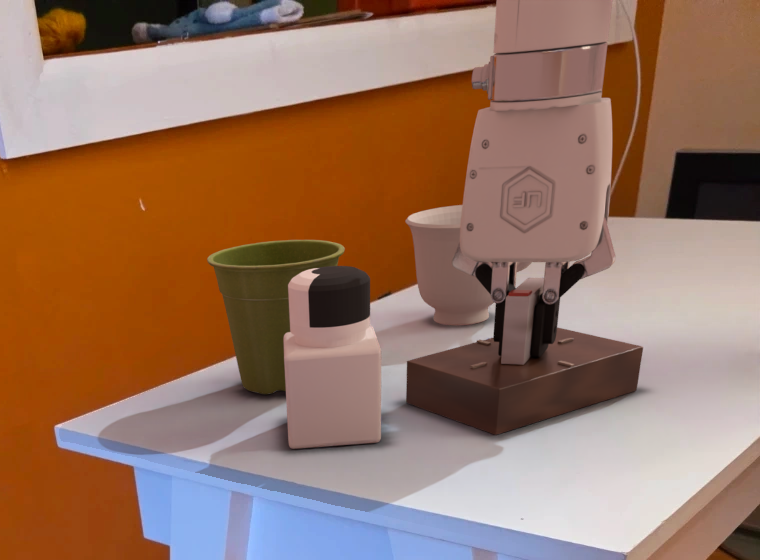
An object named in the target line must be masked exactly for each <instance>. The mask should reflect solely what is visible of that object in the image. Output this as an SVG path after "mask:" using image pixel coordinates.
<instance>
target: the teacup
mask: <svg viewBox="0 0 760 560" xmlns="http://www.w3.org/2000/svg"><path fill="white" fill-rule="evenodd" d="M462 206H463V204H459V205H458V204H457V205H449V206H441V207H435V208H430V209H425V210H421V211H418V212H415V213H412V214H410V215H408V217H407V218H406V219H405V220H404V221H405V224H407V226H408V227H409V229H410V232H411V235H412V243H413V250H414V261H415V270H416V271H415V274H416V281H417V288H418V292H419V296H420V297H421V299H422V300H423V302H424V303H425V304H426V305H428V306H429V307H431V308H433V309H434V315H433V321H434V322H435V323H437V324H440V325H444V326H445V325H446V326H468V325H469V326H470V325H474V324H475V325H476V324H479V323H483V322H485V321H487V320H488V319H489V317H490V314H489V307H490V306H492V305H493V304H496V303H495V302H493V301H492V299H491V295H490V293H489V292H488V291H487V290H486V289H485V288H484V286H483V285H482V284H481V283H480V282H479V280H478V279H477V278H476V277H474V276H471V275H469V274H467V273H465V272H462V271H460V270H458V269H456V268H455V267H453V265H452V259H453V257H454V254H455V252H456V249H457V247H458V245H459V242H460V227H461V215H462ZM532 263H533V262H517V273H519V272H522V271H523V270H525V269H527V268H528V267H529V266H530V265H531V264H532Z"/></svg>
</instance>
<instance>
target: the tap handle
mask: <svg viewBox="0 0 760 560" xmlns="http://www.w3.org/2000/svg"><path fill="white" fill-rule="evenodd" d="M543 284H544V277H527V278H526V279H525V280H524V281H523V282H521V283H520V284H519V285H518V286H516V287H515V288H516V289H515V290H512V291H510V292H509V295H508V296H507V297H506V302H505V316H504V329H503V342H502V356H501V364H516V365H524V364H525V363H526V361H527V360H528V359H529V358H530V357H531V356H532V355H530V350H531V339H532V328H533V317H534V308H535V305H536V304H537V303H538V302H540V295H541V294H542V293H543Z"/></svg>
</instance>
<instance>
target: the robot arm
mask: <svg viewBox="0 0 760 560" xmlns="http://www.w3.org/2000/svg"><path fill="white" fill-rule="evenodd" d="M495 3H496V4H495V19H494V20H495V21H494V35H493V52H492V53H493V55H491V56H490V57H489V61H488V63H485V64H484V65H483V66H476V67H474V68H473V69H472V74H471V87H472V89H473V90H481V89H482V91H486V94H487V100H488V101H489V100H490V103H489V104H490V105H489V107H485V108H481V109H478V111H477V115H476V118H475V123H474V127H473V131H472V132H473V133H472V137H471V143H470V146H469V147H470V148H469V155H468V161H467V168H466V175H465V182H464V189H463V198H462V205H463V206H462V215H461V227H460V242H459V245H458V247H457V249H456V252H455V254H454V257H453V259H452V265H453V267H455V268H456V269H458V270H460V271H462V272H465V273H467V274H469V275H471V276H474V277H476V278H477V279H478V280H479V282H480V283H481V284H482V285H483V286H484V288H485V289H486V290H487V291H488V292H489V293H490V295H491V299H492V301H493V302H495V303H494V304H495V307H494V308H495V309H494V310H495V311H494V323H493V324H494V325H493V337H492V338H493V339H494V342H499V350H498V355H499V356H502V342H503V329H504V316H505V302H506V297H507V296H508V295H509V292H510V291H512V290H515V289H516V288H517V286H516V284H517V273H518V272H517V262H532V263H544V264H545V265H544V275H543V278H544V284H543V293H542V294H541V295H540V302H538V303H537V304H536V305H535V308H534V317H533V328H532V339H531V350H530V355H532V357H540V356H541V355H542V354H543V353H544V352H545V351H546V350H547V348H548V345H549V344H553V343H554V341H555V339H556V333H557V327H558V322H559V315H560V313H559V312H560V304H561V298H562V297H563V296H564V295H565V294H566V293H567V292H568V291H569V290H570V289H571V288H573V287H574V286H575V285H576V284H577V283H578V282H579V281H580V280H583V279H585V278H587V277H591V276H593V275H595V274H598V273H601V272H603V271H605V270H608V269H610V268H611V267H612V266H613V264H614V263H615V262H616V259H617V256H616V252H615V247H614V246H613V244H614V243H613V241H612V237H611V233H610V229H609V226H608V223H609V214H610V203H611V188H612V187H611V186H612V169H613V168H612V167H613V114H612V113H613V111H612V102H611V101H612V99H611V98H610V97H602V96H603V88H604V87H603V85H604V77H605V69H606V60H607V51H608V44H609V43H608V41H609V35H610V28H611V27H610V25H611V18H612V17H611V16H612V8H613V0H496V2H495ZM570 262H574V263H572V264H571V265H570Z"/></svg>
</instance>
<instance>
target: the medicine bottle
mask: <svg viewBox="0 0 760 560" xmlns="http://www.w3.org/2000/svg"><path fill="white" fill-rule="evenodd" d="M288 294H289V315H290V332H287V333H286V334H285V335H284V365H285V384H286V391H285V401H286V418H287V419H286V420H287V439H288V440H287V441H288V447H289V448H290V449H291V450H297V449H309V448H311V449H312V448H323V447H324V448H325V447H337V446H349V445H351V446H352V445H363V444H375V443H380V441H381V439H382V349H381V346H380V343H379V340H378V337H377V334H376V332H375V331H376V330H375V328H374V327H373V326H372V325H371V277H370V275H368V273H367V272H366V271H364V270H363V269H360V268H358V267H355V266H350V265H337V266H327V267H319V268H314V269H309V270H306V271H303V272H301V273H300V274H298V275H296V276H295V277H293V278H292V279H291V281H290V282H289V284H288Z"/></svg>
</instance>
